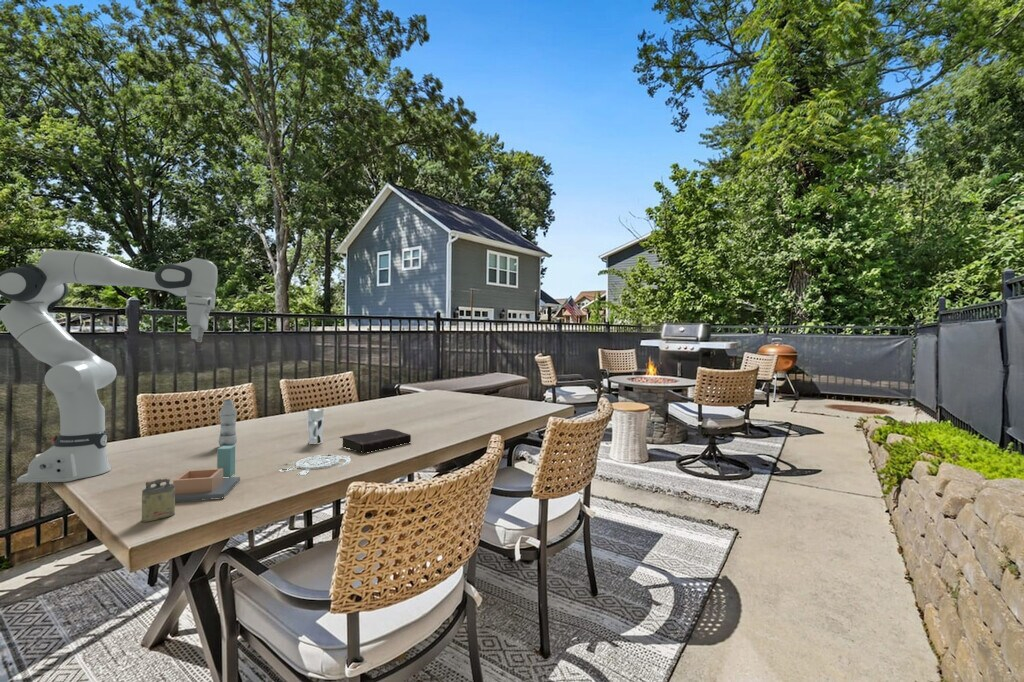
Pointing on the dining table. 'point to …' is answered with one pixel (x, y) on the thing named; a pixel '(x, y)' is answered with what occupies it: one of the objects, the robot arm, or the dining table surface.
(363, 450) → the diary
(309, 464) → the pendant
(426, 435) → the dining table surface
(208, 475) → the holder
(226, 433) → the plastic bottle
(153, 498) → the green boxy piece
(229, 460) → the peg
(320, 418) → the beer glass
